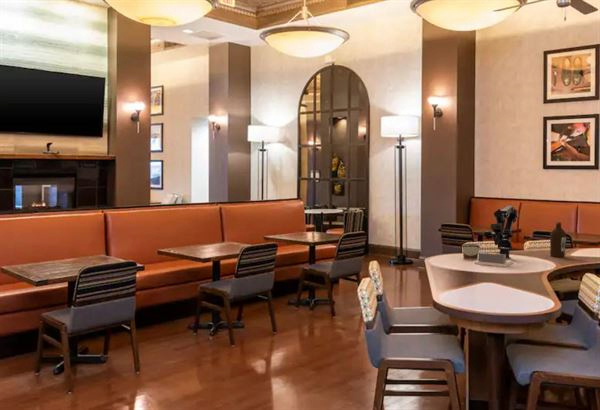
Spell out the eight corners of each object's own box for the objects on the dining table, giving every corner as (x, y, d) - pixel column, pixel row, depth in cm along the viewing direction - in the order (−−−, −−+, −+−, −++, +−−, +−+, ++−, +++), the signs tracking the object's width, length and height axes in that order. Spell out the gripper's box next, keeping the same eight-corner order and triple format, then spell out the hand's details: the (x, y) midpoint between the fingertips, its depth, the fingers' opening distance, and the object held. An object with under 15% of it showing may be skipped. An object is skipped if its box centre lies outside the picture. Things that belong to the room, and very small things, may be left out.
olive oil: (546, 256, 407) (548, 222, 405) (552, 255, 414) (554, 221, 413) (561, 258, 399) (563, 223, 398) (567, 256, 407) (569, 222, 405)
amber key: (489, 256, 372) (489, 252, 372) (496, 257, 370) (496, 253, 369) (487, 257, 368) (487, 253, 368) (494, 258, 366) (494, 253, 366)
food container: (477, 257, 396) (478, 243, 395) (479, 259, 390) (480, 244, 389) (459, 257, 397) (460, 243, 397) (461, 258, 391) (461, 244, 390)
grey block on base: (482, 260, 386) (482, 249, 386) (512, 262, 375) (513, 252, 375) (474, 263, 371) (474, 253, 370) (505, 266, 360) (506, 255, 359)
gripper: (482, 220, 386) (477, 239, 379) (508, 217, 373) (503, 237, 365) (489, 229, 392) (484, 247, 384) (515, 227, 378) (511, 246, 371)
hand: (495, 244), depth 376 cm, fingers closed
